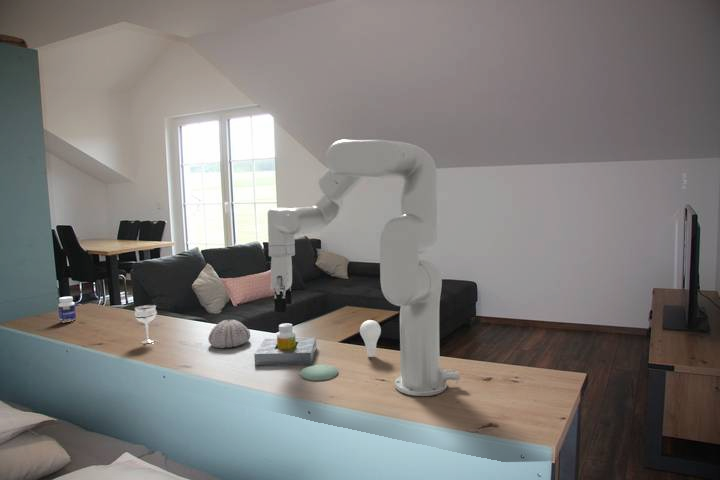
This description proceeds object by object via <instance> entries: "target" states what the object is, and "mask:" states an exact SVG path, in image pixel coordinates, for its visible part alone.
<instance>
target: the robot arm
mask: <svg viewBox="0 0 720 480" xmlns="http://www.w3.org/2000/svg"><path fill="white" fill-rule="evenodd" d="M325 165H326V167H327V169H326V170H325V171H324V172H323V173H322V174H321V175H320V177H319V179H318V185H319V188H320V190H321V192H322V193H323V195H322V196H321V198H320V199H319V200H318V201H317V202H316V203H315V204H314V205H313V206H303V207H291V208H290V207H274V208H270V209H269V210H268V211H267V236H268V237H267V238H268V241H267V243H268V257H271V262H270V290H271V291H273V292H274V312H275V313H286V312H287V305H291V304H292V303H293V302H292V301H293V297H292V296H293V295H292V284H293V264H292V263H293V262H292V257H293V256H295V255H296V247H295V246H296V245H295V243H296V242H295V239H296V238H295V236H300V235H305V234H313V233H318V232H321V231H323V230H324V229H326V228H327V227H328V226H329V225H330V224H331V223H332V222H333V221H334V220H335V219H336V218H337V217H338V215H339V214H340V212H341V210H342V207H343V204H344V200H345V198H346V197H347V196H348V195H349V194H350V193H351V192H352V191H353V190H354V189H355V188H356V187H357V186H358V185H359V184H360V183H361V182H362V181H363V180H364V179H365V178H381V179H382V178H383V179H385V178H388V179H390V178H391V179H393V178H394V179H396V178H397V179H398V178H399V179H403V181H404V183H403V185H402V189H401V193H400V215H399V216H398V215H397V216H395V217H393V218H390V220H388V221H387V222H386V223H385V224H384V226H383V228H382V230H381V234H380V240H379V269H380V270H379V273H380V275H379V278H380V279H379V280H380V288H381V292H382V294H383V296H384V298H385V299H386V300H387V301H388V303H390V304H392V305H394V306H397V307H400V309H399V342H400V343H399V351H400V353H399V354H400V375H399V376H397V377H396V379H394V387H395V389H396V390H397V391H399V392H400V393H402V394H406V395H409V396H415V397H429V396H434V395H439V394H440V393H442V392H444V391H445V390H446V388H447V381H459V380H461V378H460V371H454V370H453V369H443V368H442V367H441V365H440V364H441V363H440V362H441V361H440V303H441V302H440V301H441V293H442V285H443V281H442V280H443V279H442V278H443V277H442V273H441V271H440V269H439V267H438V265H436V263H435V262H433V261H432V260H430V259H427V258H420V257H419V256H420V255H421V254H424V253H427V252H429V251H431V250H433V248H434V247H435V245H436V243H437V236H438V233H437V232H438V227H437V226H438V224H437V223H438V214H437V213H438V204H437V203H438V202H437V190H438V189H437V188H438V174H437V172H438V171H437V166H436V163H435V161H434V159H433V157H432V156H431V155H430V153H429V152H428V151H426V150H425V149H423V148H422V147H420V146H418V145H416V144H412V143H408V142H403V141H394V140H386V139H340V140H337V141H335V142H334V143H332V144H331V145H330V146H329V148H328V149H327V151H326V155H325Z"/></svg>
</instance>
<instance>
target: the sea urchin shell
mask: <svg viewBox="0 0 720 480" xmlns="http://www.w3.org/2000/svg"><path fill="white" fill-rule="evenodd" d="M250 339H251V332H250V329H249V328H248V327H247V326H245V324H243V322H241V321H239V320H237V319H224V320H221V321H220V322H218V323H217V324H216V325H215V326H214V327H213V328H211V331H210V332H209V335H208V339H207V340H208V343H209V345H211V347H214V348H218V349H220V348H221V349H225V348H228V349H229V348H232V347H233V348H234V347H235V348H236V347H238V346H242V345H245V343H247V342H249V341H250Z"/></svg>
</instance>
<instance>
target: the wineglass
mask: <svg viewBox="0 0 720 480" xmlns="http://www.w3.org/2000/svg"><path fill="white" fill-rule="evenodd" d="M156 308H157V305H155V304H145V305H139V306H135V307H134V311H135V312H134V317H135V319H136V320H137V321H138V322H140V323H143V324H144V325H145V333H146V334H145V335H146V339H145V340H143V341H141V342H142V343H151V342H154V340H155V339H149V324H150V323H151V322H152V321H154V319H155V318H156V317H157V315H158V312H157V309H156Z"/></svg>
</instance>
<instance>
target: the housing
mask: <svg viewBox="0 0 720 480" xmlns="http://www.w3.org/2000/svg"><path fill="white" fill-rule="evenodd" d="M295 339H296V348H295V349H278V347H277V338H264V339H263V341H262V342H261V343H260V345H259V347H258V348H257V349H256V351H255V352H254V353H253V354H254V355H253V356H254V366H255V367H256V366H257V367H266V366H267V367H268V366H272V367H273V366H304V365H305V366H309V365H310V366H312V363H313V360H314V357H315V354H316V351H317V337H295Z"/></svg>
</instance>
